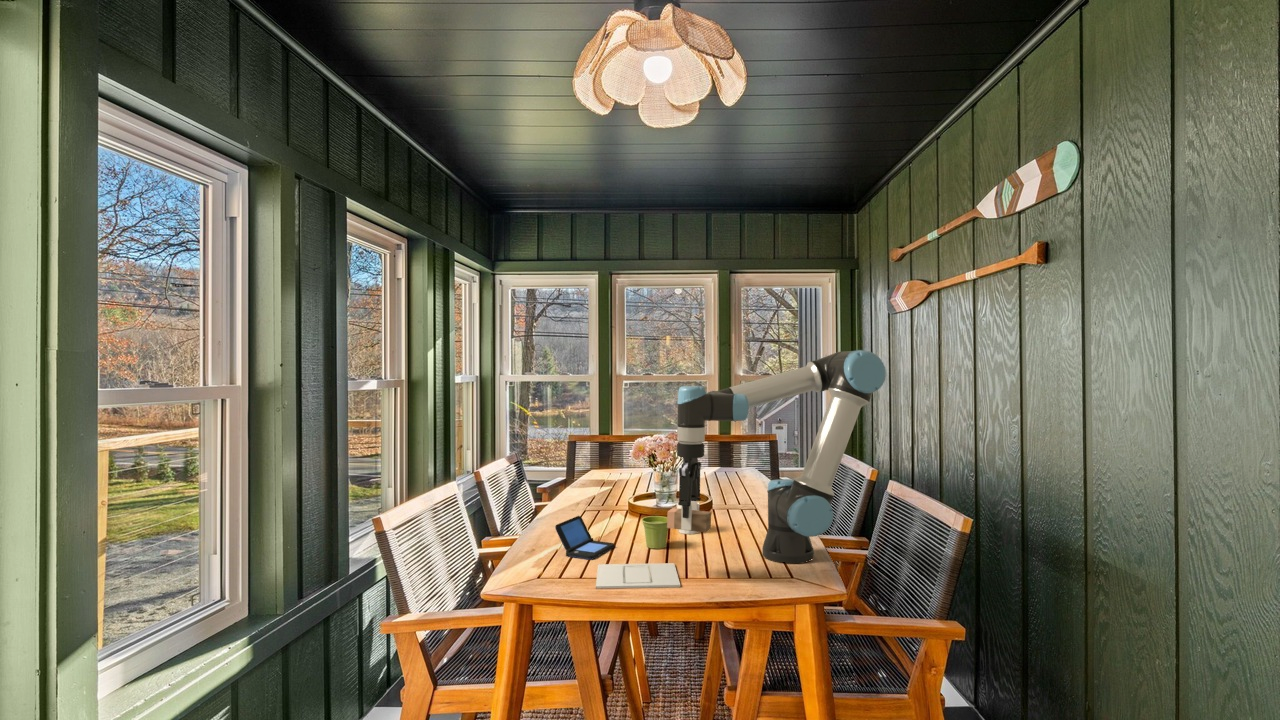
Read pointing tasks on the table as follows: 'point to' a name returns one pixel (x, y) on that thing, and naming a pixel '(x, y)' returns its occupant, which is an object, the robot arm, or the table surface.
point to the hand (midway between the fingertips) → (689, 526)
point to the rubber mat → (637, 576)
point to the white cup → (686, 530)
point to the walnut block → (699, 520)
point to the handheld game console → (580, 540)
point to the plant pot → (655, 531)
